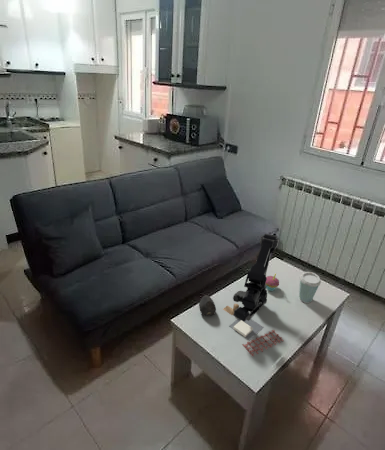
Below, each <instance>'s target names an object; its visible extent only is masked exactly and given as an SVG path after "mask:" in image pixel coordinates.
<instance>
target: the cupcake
mask: <svg viewBox="0 0 385 450" xmlns="http://www.w3.org/2000/svg"><path fill="white" fill-rule="evenodd" d="M276 275H277V273H274V275H266V278H267V280H266V290H267V291H270V292H271V291H272V292H273V291H274V290H276V288H278V287H279V286H280V280H279V278H277V277H276Z"/></svg>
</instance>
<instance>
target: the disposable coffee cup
mask: <svg viewBox="0 0 385 450" xmlns="http://www.w3.org/2000/svg"><path fill="white" fill-rule="evenodd" d="M321 283H322V281H321V277H320V276H319V275H318V274H316V272H311V271H304V272H302V274H300V276H299V290H298V297H299V300H300V301H301V302H302V303H305V304H309V303H311V302H312V301H313V299H314V296H315V295H316V293H317V291H318V288H319V286H321Z"/></svg>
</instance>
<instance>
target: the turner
mask: <svg viewBox="0 0 385 450" xmlns="http://www.w3.org/2000/svg"><path fill="white" fill-rule="evenodd" d="M238 307H240V305H239V304H238V303H233V307H231V306H229V305H226V306H225V307H224V308H222V310H223V311H225V312H226V313H228V314H229V315H231V316H235V315H234V310H236V309H237V308H238ZM235 317H236V316H235Z"/></svg>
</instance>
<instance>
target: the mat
mask: <svg viewBox="0 0 385 450" xmlns="http://www.w3.org/2000/svg"><path fill="white" fill-rule="evenodd" d="M239 321H241V319H239V318H238V317H237V319H235V321H233V322H232V323H230V324H229V325H228V327H229V328H230V329H231V330H234V329H233V327H234V326H235V325H236V324H237V323H238V322H239ZM243 322H245V323H246V324H248V325H249V326H251V327H252V328H253V331H252V332H251V333H249V334H248V335H247V336H246V337H244V336H243V335H242V334H240V333H239V332H237V331H236V330H234V331H235V332H236V333H238V334H239V335H240V336H242V337H243V338H245V339H246V340H248V342H251V340H253V338H255V336H257V334H258V333H259V332H261V331H262V330H263V329H264V328H265V327H264V326H263V325H261V324H260V323H258V322H257V321H255V320H254V319H252V318H251V319H250V320H249V321H248V320H246V321H243Z"/></svg>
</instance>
